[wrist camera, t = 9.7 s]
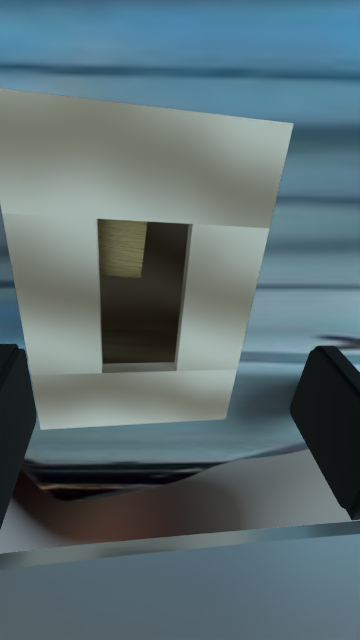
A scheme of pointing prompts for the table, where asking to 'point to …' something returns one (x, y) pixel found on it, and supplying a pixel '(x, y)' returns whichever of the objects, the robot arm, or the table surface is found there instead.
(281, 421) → the table surface
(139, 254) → the yellow flat block
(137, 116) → the box
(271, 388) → the table surface
